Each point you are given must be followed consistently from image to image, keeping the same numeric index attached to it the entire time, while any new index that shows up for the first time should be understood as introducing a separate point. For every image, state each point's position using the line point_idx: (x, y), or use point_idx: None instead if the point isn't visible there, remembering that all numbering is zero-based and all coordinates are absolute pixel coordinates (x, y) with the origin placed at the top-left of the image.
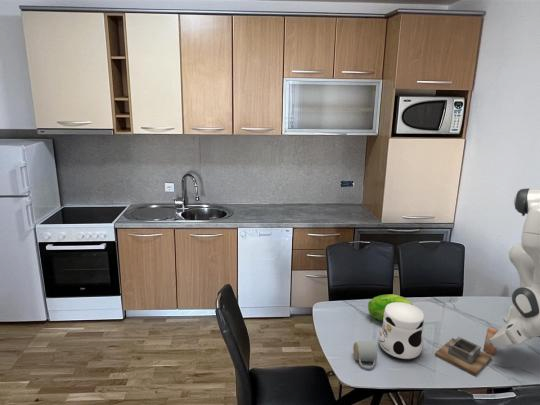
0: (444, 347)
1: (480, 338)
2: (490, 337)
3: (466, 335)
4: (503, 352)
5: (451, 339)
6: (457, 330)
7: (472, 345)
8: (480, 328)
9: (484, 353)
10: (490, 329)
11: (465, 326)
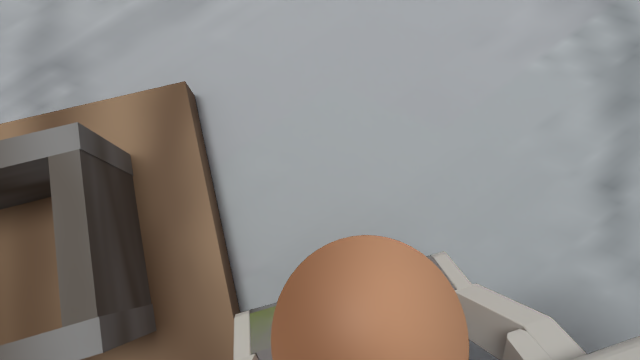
0: (7, 137)
1: (420, 154)
2: None
3: (352, 91)
4: None
5: (158, 90)
6: (344, 31)
7: (64, 282)
8: (525, 75)
9: (224, 331)
10: (349, 285)
11: (439, 22)
